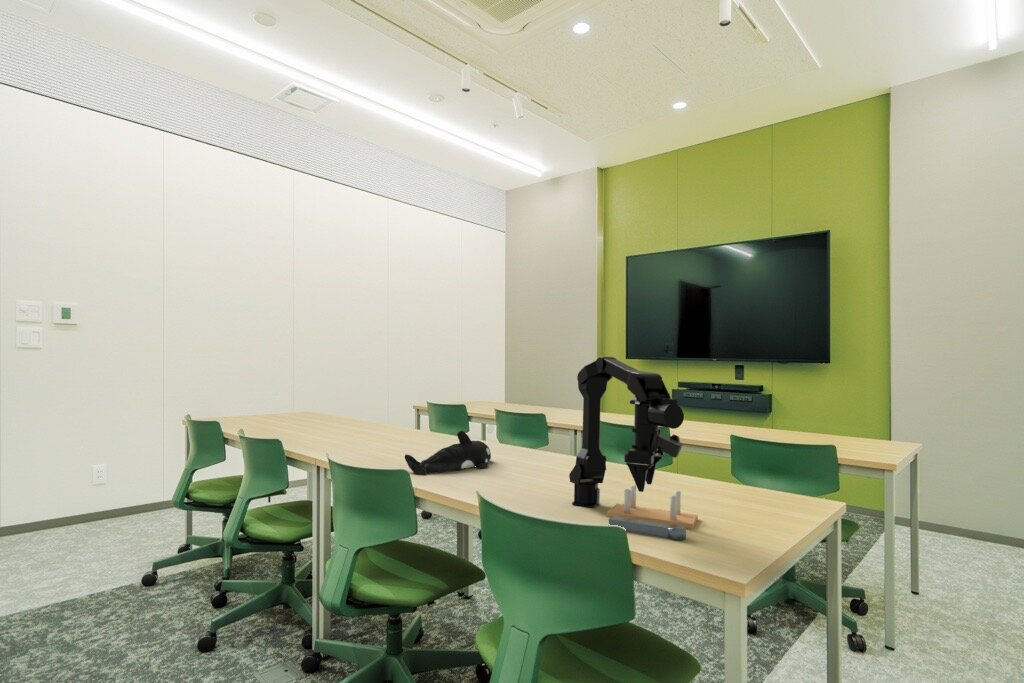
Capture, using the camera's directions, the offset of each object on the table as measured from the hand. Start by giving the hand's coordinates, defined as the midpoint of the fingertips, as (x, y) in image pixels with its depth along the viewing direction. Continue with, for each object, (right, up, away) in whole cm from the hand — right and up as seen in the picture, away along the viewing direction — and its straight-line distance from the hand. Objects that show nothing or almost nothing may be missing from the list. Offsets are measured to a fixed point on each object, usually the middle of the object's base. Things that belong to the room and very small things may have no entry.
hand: (645, 487), depth 129 cm
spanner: (0, -11, -1) cm, 11 cm away
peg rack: (+5, -12, +12) cm, 18 cm away
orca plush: (-56, -14, +77) cm, 96 cm away
